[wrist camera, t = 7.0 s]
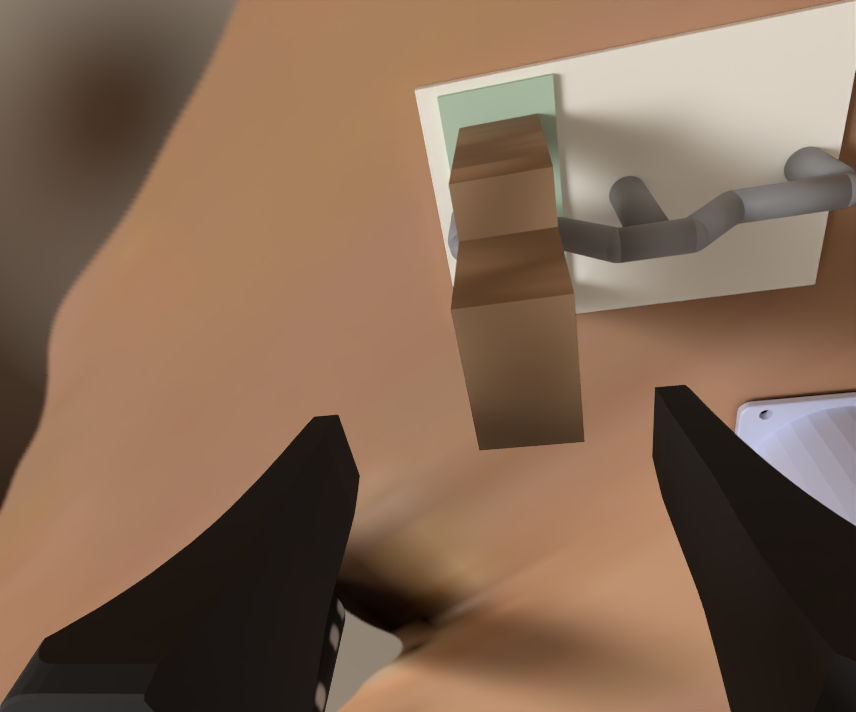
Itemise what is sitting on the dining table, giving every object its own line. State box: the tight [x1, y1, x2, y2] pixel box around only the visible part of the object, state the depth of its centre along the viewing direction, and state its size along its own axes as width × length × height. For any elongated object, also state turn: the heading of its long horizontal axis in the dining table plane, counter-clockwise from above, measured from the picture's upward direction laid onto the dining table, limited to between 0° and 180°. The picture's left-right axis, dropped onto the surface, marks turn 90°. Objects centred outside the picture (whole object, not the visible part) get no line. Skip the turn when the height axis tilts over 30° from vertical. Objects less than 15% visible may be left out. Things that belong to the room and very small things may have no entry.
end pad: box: [437, 73, 566, 258], centre depth 20 cm, size 4×8×1 cm, turn 11°
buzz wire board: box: [415, 0, 856, 314], centre depth 18 cm, size 13×9×5 cm
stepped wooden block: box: [448, 113, 584, 450], centre depth 17 cm, size 2×7×9 cm, turn 11°
